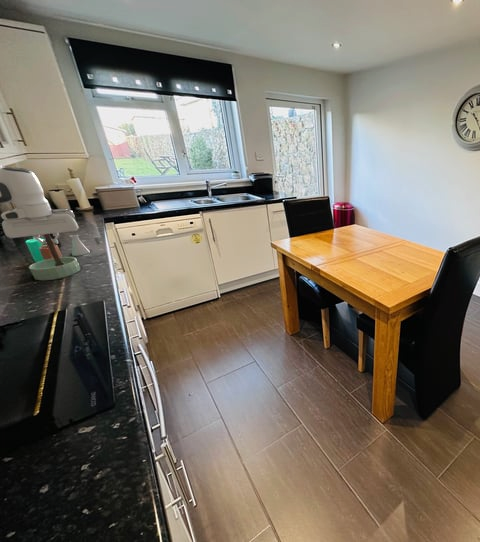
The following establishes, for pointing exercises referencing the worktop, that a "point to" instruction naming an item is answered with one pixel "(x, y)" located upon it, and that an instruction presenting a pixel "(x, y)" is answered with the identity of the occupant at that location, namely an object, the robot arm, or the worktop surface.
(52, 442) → the worktop surface
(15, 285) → the worktop surface
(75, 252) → the flask
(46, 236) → the stirring stick
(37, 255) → the candle
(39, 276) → the mixing bowl
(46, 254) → the utensil pot
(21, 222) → the robot arm
